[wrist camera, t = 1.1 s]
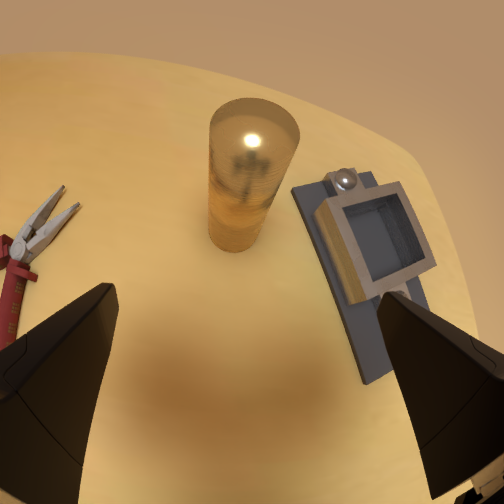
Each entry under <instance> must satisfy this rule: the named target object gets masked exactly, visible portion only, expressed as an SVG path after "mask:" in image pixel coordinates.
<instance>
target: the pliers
mask: <svg viewBox="0 0 504 504" xmlns="http://www.w3.org/2000/svg"><path fill="white" fill-rule="evenodd" d="M64 188H65V186H64V185H62V186H61V187H60V188H59V189H58V190H57V191H56V192H55V193H54V194H53V195H52V196H51V197H49V198H48V199H47V200H46V201H45V202H44V203H43V204H42V205H41V206H40V207H39V208H38V209H37V210H36V211H35V212H34V213H33V214H32V216H31V217H30V218H29V219H28V220H27V221H26V222H25V224H24V225H23V227H22V228H21V229H20V231H19V233H18V234H17V236H16V238H15V240H14V241H13V239H11V238H10V237H8V236H7V235H5V234H3V235H1V236H0V270H2V269H4V268H6V267H7V268H6V276H5V280H4V284H3V289H2V293H1V298H0V351H1V350H2V349H4V348H6V347H7V346H8V345H10V344H11V343H13V342H14V341H15V337H16V330H17V323H18V317H19V312H20V306H21V301H22V296H23V292H24V287H25V283H26V279H28V280H31V281H34V282H36V281H37V277H38V275H36V274H34V273H32V272H30V271H29V270H30V266H28V265H27V264H29V263H30V262H31V261H32V260H33V259H34V258H35V257H36V256H37V255H38V254H40V253H41V252H42V251H43V250H44V249H45V248H46V246H47V245H48V244H49V243H50V242H51V240H52V239H53V238H54V236H55V235H56V234H57V233H58V231H59V230H60V229H61V227H62V226H63V225H64V224H65V222H66V221H67V220H68V219H69V217H70V216H71V215H72V214H73V213H74V211H75V210H76V209H77V208H78V207H79V205H80V203H79V202H78V203H76V204H75V205H73V206H72V207H70V208H68V209H67V210H65V211H64V212H62V213H61V214H59V215H58V216H56V217H55V218H53V219H52V220H50V221H49V222H47V223H46V224H45V222H46V220H47V218H48V216H49V215H50V213H51V211H52V209H53V207H54V205H55V204H56V202H57V200H58V198H59V196H60V195H61V193H62V191H63V189H64ZM44 224H45V225H44ZM43 225H44V226H43ZM34 232H36V235H35V236H34V237H33V238H32V239H31V236H32V234H33V233H34Z"/></svg>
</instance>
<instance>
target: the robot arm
mask: <svg viewBox="0 0 504 504" xmlns="http://www.w3.org/2000/svg"><path fill="white" fill-rule="evenodd" d="M118 311H119V304H118V299H117V294H116V288H115V286H114V284H113V283H100V284H99V285H97V286H96V287H94V288H93V289H91V290H89V291H88V292H86V293H85V294H83V295H82V296H80V297H79V298H77V299H76V300H74V301H73V302H71V303H70V304H68V305H67V306H65V307H64V308H62V309H61V310H59V311H58V312H56V313H55V314H53V315H52V316H50V317H49V318H47V319H46V320H44V321H43V322H41V323H40V324H38V325H37V326H36V327H34V328H33V329H31V330H30V331H28V332H27V334H24V335H23V336H21V337H20V338H19V339H17V340H16V341H14V342H13V343H11V344H10V345H8V346H7V347H6V348H4V349H2V350H1V351H0V504H78V498H79V490H80V483H81V477H82V470H83V468H82V467H83V463H84V458H85V452H86V447H87V442H88V437H89V432H90V428H91V423H92V419H93V415H94V410H95V406H96V402H97V398H98V394H99V390H100V387H101V383H102V379H103V376H104V372H105V369H106V365H107V362H108V358H109V355H110V351H111V346H112V341H113V336H114V331H115V326H116V321H117V316H118ZM377 319H378V322H379V326H380V329H381V333H382V336H383V340H384V344H385V347H386V350H387V353H388V356H389V359H390V362H391V364H392V367H393V370H394V373H395V375H396V378H397V381H398V384H399V387H400V389H401V392H402V395H403V398H404V401H405V404H406V407H407V410H408V414H409V417H410V420H411V423H412V426H413V430H414V433H415V436H416V440H417V443H418V447H419V450H420V455H421V458H422V462H423V466H424V470H425V474H426V478H427V482H428V486H429V491H430V495H431V498H432V500H434V499H436V498H438V497H440V496H442V495H444V494H445V493H447V492H449V491H451V490H453V489H454V488H456V487H458V486H460V485H461V484H463V483H465V482H466V481H468V480H470V479H471V482H472V484H473V486H474V487H473V488H471V489H470V490H468V491H467V492H465V493H463V494H462V495H460V496H458V497H457V498H456V500H455V503H454V504H504V354H502V353H500V352H498V351H496V350H494V349H493V348H491V347H489V346H487V345H486V344H484V343H482V342H481V341H479V340H477V339H476V338H474V337H472V336H471V335H469V334H467V333H466V332H464V331H462V330H461V329H459V328H457V327H456V326H454V325H452V324H451V323H449V322H447V321H446V320H444V319H442V318H441V317H439V316H437V315H436V314H434V313H432V312H430V311H429V310H427V309H425V308H424V307H422V306H420V305H418V304H417V303H415V302H413V301H411V300H410V299H408V298H406V297H404V296H403V295H401V294H399V293H397V292H395V291H387V292H385V293H384V294H383V296H382V299H381V301H380V304H379V306H378V309H377Z"/></svg>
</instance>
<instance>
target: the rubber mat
mask: <svg viewBox="0 0 504 504" xmlns="http://www.w3.org/2000/svg"><path fill="white" fill-rule="evenodd" d="M358 176H359V178H360V180H361V182H362V184H363V186H364V188H365V189H367V188H372V187H376V186H378V184H377V182H376V180H375V178H374V176H373V174H372V172H371V171H369V172H364V173H359V174H358ZM291 193H292V195H293V197H294V200H295V202H296V204H297V206H298V209H299V211H300V214H301V216H302V218H303V221H304V223H305V225H306V228H307V230H308V233H309V235H310V238H311V240H312V242H313V245H314V247H315V250H316V252H317V255H318V257H319V260H320V263H321V265H322V268H323V270H324V273H325V275H326V278H327V281H328V283H329V286H330V289H331V291H332V294H333V297H334V299H335V302H336V305H337V307H338V310H339V313H340V316H341V319H342V321H343V324H344V327H345V330H346V333H347V336H348V339H349V341H350V344H351V347H352V350H353V353H354V356H355V359H356V362H357V365H358V368H359V372H360V375H361V378H362V381H363V384H365V385H368V384H370V383H371V382H373V381H375V380H377V379H378V378H380V377H382V376H383V375H385V374H387V373H388V372H390V371H392V370H393V367H392V364H391V362H390V359H389V356H388V353H387V350H386V347H385V344H384V340H383V336H382V333H381V329H380V326H379V322H378V319H377V314H376V311H375V308H374V305H373V302H372V300H371V299H368V300H366V301H362V302H359V303H355V304H352V305H348V306H346V304H345V302H344V299H343V296H342V293H341V291H340V288H339V285H338V283H337V280H336V278H335V275H334V272H333V270H332V267H331V265H330V262H329V260H328V257H327V255H326V252H325V250H324V247H323V245H322V242H321V240H320V237H319V235H318V233H317V230H316V228H315V225H314V223H313V221H312V218H311V216H312V215H313V214H314V212H315V211H316V210H317V209H318V207H319V206H320V205H321V204H322V202H323V201H324V200H325V199H326V198H329V196H328V194H327V191H326V189H325V187H324V185H323V183H322V181H321V182H316V183H311V184H307V185H303V186H298V187H294V188H292V190H291ZM347 220H348V223H349V225H350V227H351V230H352V232H353V234H354V237H355V239H356V241H357V244H358V246H359V248H360V251H361V253H362V256H363V258H364V261H365V263H366V266H367V268H368V271H369V273H370V276H371V279H372V281H375V280H377V279H380V278H382V277H384V276H386V275H389V274H391V273H393V272H395V271H397V270H400V269H402V265H401V263H400V260H399V258H398V255H397V253H396V250H395V248H394V245H393V243H392V241H391V238H390V236H389V234H388V231H387V229H386V227H385V224H384V222H383V220H382V218H381V216H380V213H379V211H378V209H377V210H374V211H370V212H367V213H363V214H360V215H356V216H353V217H350V218H347ZM405 283H406V285H407V288H408V291H409V294H410V297H411V299H412V301H413V302H415V303H417V304H418V305H420V306H422V307H424V308H425V309H427V310H429V311H430V309H429V306H428V303H427V300H426V297H425V294H424V291H423V289H422V286H421V283H420V280H419V277H418V276H416V277H414V278H412V279H410V280H408V281H406V282H405Z"/></svg>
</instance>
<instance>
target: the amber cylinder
mask: <svg viewBox="0 0 504 504" xmlns="http://www.w3.org/2000/svg"><path fill="white" fill-rule="evenodd" d="M299 140H300V132H299V128H298V125H297V123H296V121H295V119H294V118H293V117H292V116H291V114H290V113H289V112H287V111H286V110H285V109H284V108H282V107H281V106H279V105H277V104H275V103H273V102H270V101H267V100H264V99H259V98H241V99H236V100H233V101H230V102H228V103H226V104H224V105H222V106H221V107H220V108H219V109H218V110H217V111H216V112H215V113H214V115H213V116H212V118H211V122H210V132H209V235H210V238H211V240H212V241H213V243H214V244H215V245H216V246H217V247H218V248H220V249H222V250H224V251H227V252H232V253H235V252H241V251H244V250H246V249H248V248H249V247H250V246H251V245H252V244H253V243H254V241H255V240H256V237H257V235H258V233H259V231H260V229H261V226H262V224H263V222H264V220H265V217H266V215H267V213H268V211H269V208H270V206H271V204H272V202H273V200H274V197H275V195H276V193H277V191H278V188H279V186H280V184H281V182H282V180H283V177H284V175H285V173H286V171H287V168H288V166H289V164H290V162H291V160H292V157H293V155H294V153H295V151H296V149H297V146H298V144H299Z"/></svg>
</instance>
